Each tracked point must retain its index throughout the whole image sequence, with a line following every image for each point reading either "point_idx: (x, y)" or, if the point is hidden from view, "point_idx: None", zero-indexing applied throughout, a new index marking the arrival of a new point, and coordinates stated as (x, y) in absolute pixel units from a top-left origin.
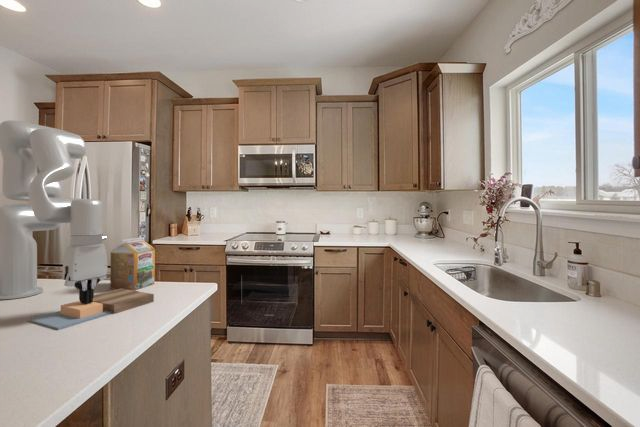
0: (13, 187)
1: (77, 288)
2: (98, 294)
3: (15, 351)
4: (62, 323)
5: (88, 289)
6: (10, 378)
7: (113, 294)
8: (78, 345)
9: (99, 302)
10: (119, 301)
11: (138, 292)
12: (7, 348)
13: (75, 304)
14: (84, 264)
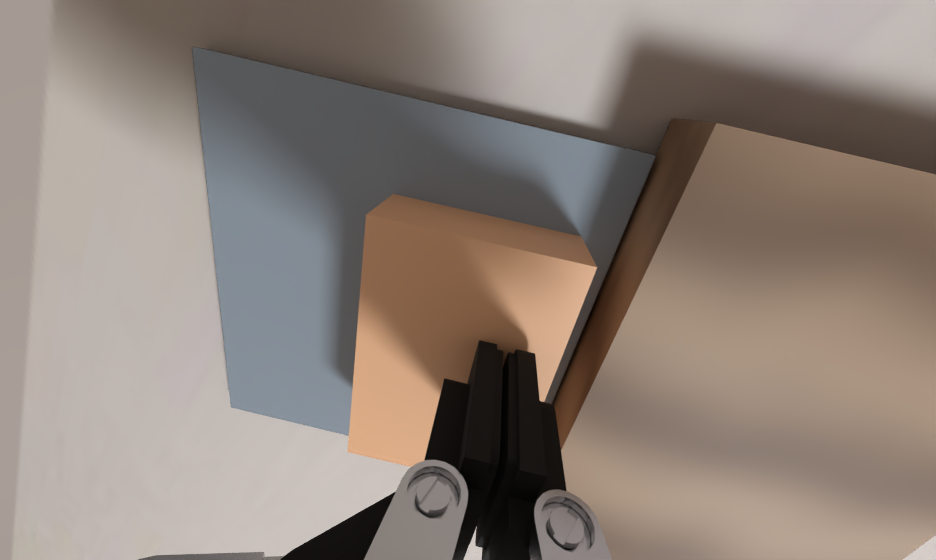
0: None
1: (375, 512)
2: (917, 198)
3: (52, 422)
4: (275, 377)
5: (495, 528)
6: (23, 532)
7: (877, 367)
8: (207, 549)
9: (575, 416)
10: (612, 522)
11: (923, 518)
12: (32, 374)
13: (435, 324)
14: None
